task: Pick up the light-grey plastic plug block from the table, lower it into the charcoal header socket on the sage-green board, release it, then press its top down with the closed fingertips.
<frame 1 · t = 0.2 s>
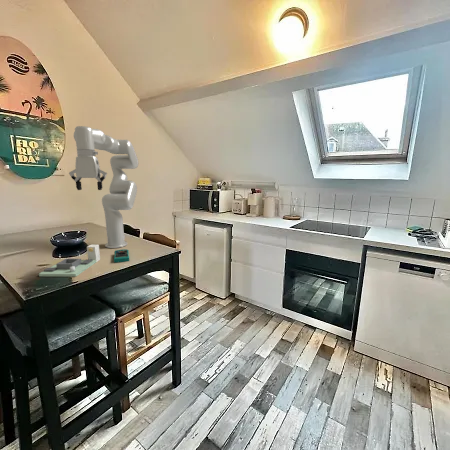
hand: (89, 189, 126), 36 cm above the table, tool pointing down, fingers open, 9 cm apart
plug: (94, 260, 130), on the table
board: (69, 268, 120), on the table
digital multimeter: (121, 258, 135), on the table
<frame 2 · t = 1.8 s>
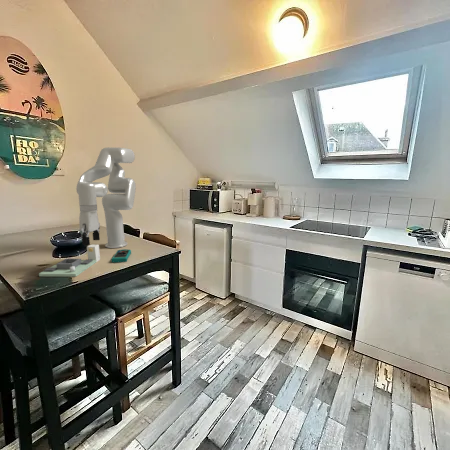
hand: (91, 242, 128), 10 cm above the table, tool pointing down, fingers open, 9 cm apart
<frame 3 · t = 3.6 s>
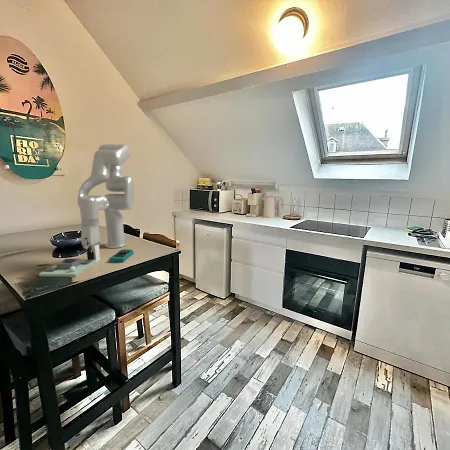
hand: (93, 257, 130), 2 cm above the table, tool pointing down, fingers closed on plug, 4 cm apart
plug: (94, 260, 130), on the table, touching gripper
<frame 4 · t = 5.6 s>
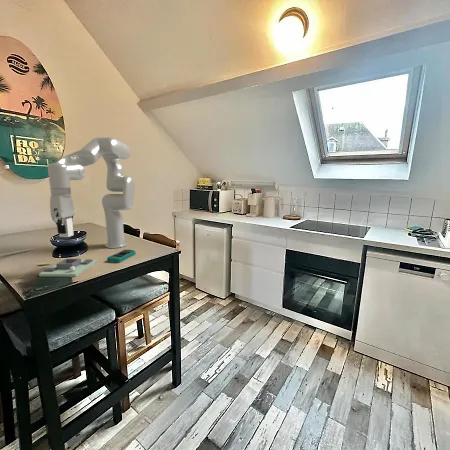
hand: (65, 231, 116), 18 cm above the table, tool pointing down, fingers closed on plug, 4 cm apart
plug: (66, 235, 117), point 16 cm above the table, touching gripper
when the fingers open (5 cm above the table, at t = 7.8 s): plug drops 1 cm, resting on board.
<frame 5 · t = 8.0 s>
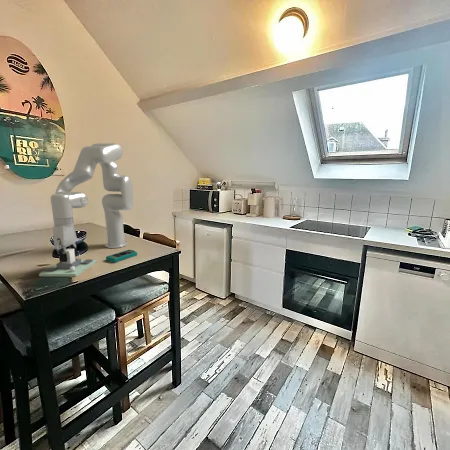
hand: (68, 258, 119), 5 cm above the table, tool pointing down, fingers open, 6 cm apart
plug: (69, 266, 119), point 1 cm above the table, touching board
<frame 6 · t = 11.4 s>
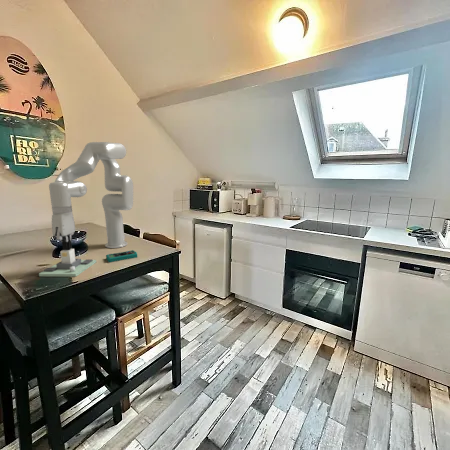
hand: (67, 249, 118), 10 cm above the table, tool pointing down, fingers closed
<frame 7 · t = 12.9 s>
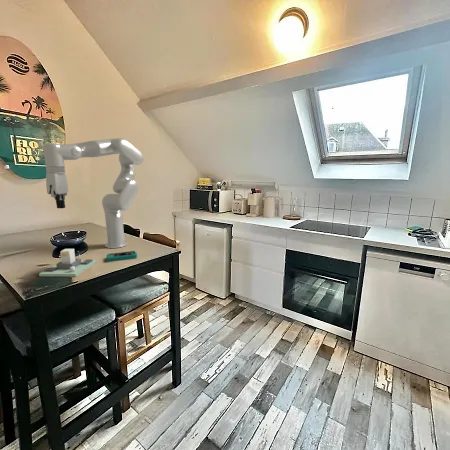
hand: (61, 208, 127), 27 cm above the table, tool pointing down, fingers closed
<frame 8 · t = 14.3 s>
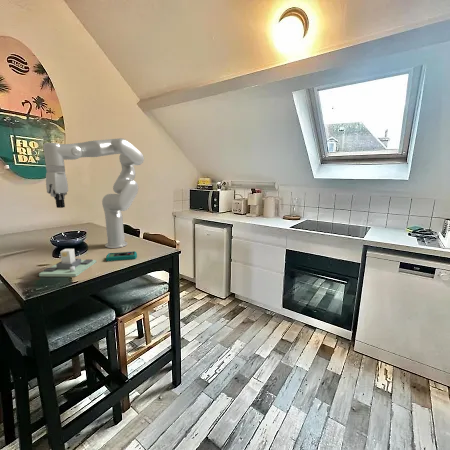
hand: (60, 207, 127), 27 cm above the table, tool pointing down, fingers closed
at the end: plug 0.1 cm off-centre on the board, point 1.2 cm above the board's base; plug tilted 0°; the gripper is holding nothing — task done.
